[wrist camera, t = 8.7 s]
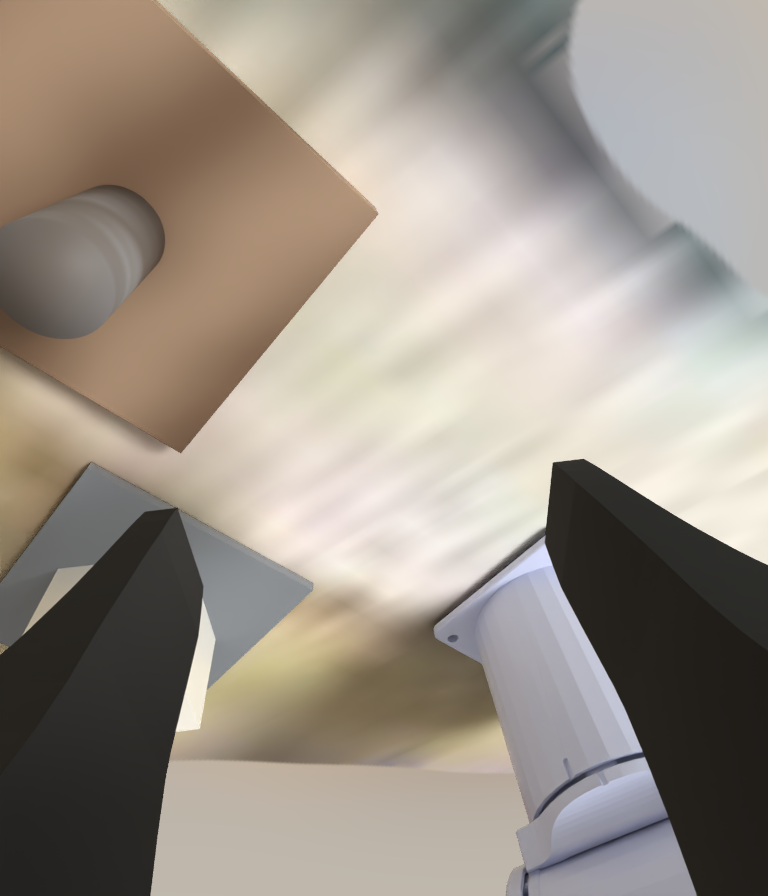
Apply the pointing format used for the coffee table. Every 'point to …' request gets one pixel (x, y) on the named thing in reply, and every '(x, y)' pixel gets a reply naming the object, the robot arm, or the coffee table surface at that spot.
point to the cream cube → (202, 655)
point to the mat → (216, 555)
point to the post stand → (151, 212)
